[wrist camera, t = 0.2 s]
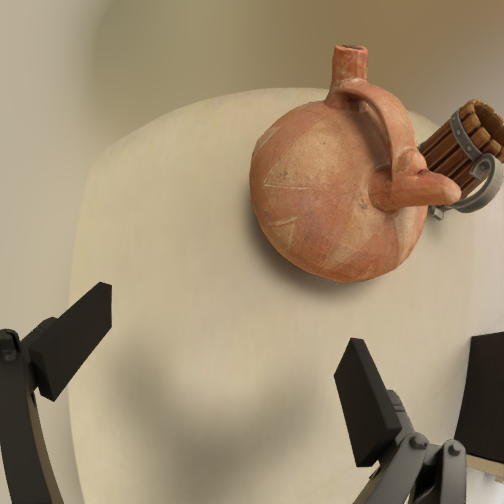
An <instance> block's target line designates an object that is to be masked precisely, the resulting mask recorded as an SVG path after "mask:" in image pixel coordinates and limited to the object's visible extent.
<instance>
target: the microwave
mask: <svg viewBox="0 0 504 504" xmlns="http://www.w3.org/2000/svg"><path fill="white" fill-rule="evenodd" d="M454 440H456V441H459V442H460V443H461V444H462V445H463V446H464V448H465V451H466V452H468V453H471V454H475V455H479V456H482V457H486V458H490V459H494V460H498V461H502V462H504V332H499V333H492V334H486V335H479V336H472V338H471V348H470V357H469V365H468V372H467V379H466V385H465V391H464V397H463V402H462V407H461V411H460V416H459V420H458V425H457V429H456V433H455V437H454Z"/></svg>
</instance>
